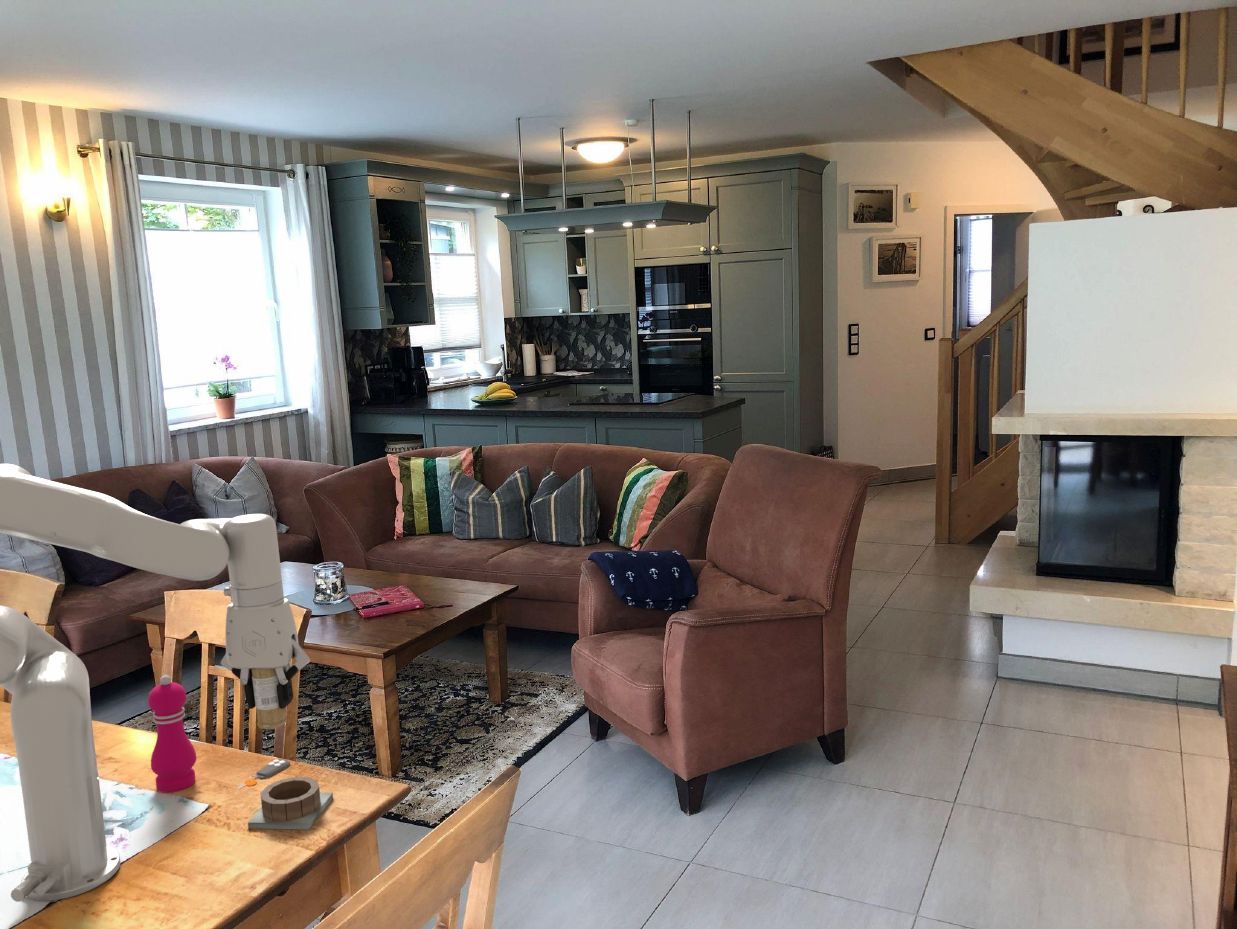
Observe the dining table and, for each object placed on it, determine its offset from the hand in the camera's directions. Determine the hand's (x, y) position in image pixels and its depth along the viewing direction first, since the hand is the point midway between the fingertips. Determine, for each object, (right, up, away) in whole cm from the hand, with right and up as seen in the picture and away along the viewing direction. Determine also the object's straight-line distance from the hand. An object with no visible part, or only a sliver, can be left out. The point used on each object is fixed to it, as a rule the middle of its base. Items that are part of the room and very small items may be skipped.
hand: (270, 704), depth 150 cm
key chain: (-9, -18, +18) cm, 27 cm away
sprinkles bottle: (0, -4, +1) cm, 4 cm away
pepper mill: (-23, -18, +16) cm, 34 cm away
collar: (+2, -19, +5) cm, 20 cm away
